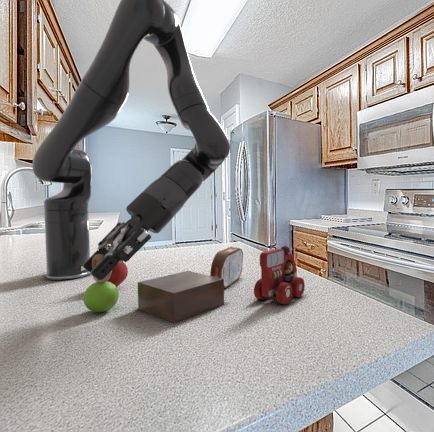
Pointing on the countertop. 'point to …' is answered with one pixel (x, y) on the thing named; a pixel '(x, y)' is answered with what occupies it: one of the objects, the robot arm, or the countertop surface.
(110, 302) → the green tan rounded piece
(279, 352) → the countertop surface
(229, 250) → the tin
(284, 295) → the toy fire truck
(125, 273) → the onion
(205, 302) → the walnut block
